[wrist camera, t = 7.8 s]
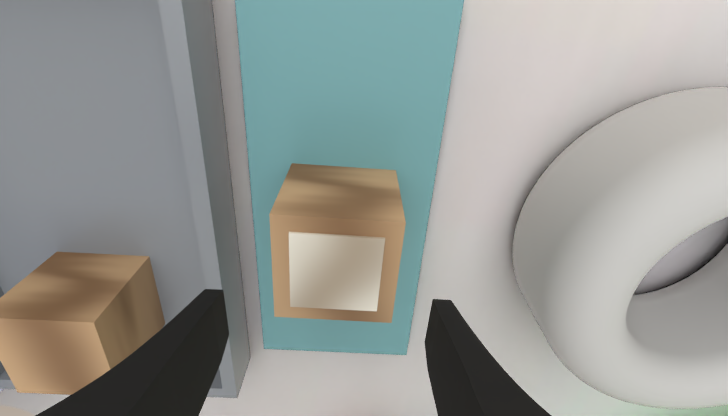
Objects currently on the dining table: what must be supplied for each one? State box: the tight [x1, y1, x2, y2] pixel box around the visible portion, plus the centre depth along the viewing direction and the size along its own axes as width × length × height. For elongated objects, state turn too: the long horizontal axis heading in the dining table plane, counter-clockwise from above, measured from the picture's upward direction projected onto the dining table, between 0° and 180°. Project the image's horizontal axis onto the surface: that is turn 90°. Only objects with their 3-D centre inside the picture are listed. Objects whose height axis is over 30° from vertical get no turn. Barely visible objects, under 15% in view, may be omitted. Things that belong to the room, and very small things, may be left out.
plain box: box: [0, 252, 165, 395], centre depth 20 cm, size 5×5×5 cm
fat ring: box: [512, 87, 728, 409], centre depth 18 cm, size 15×15×7 cm
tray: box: [0, 0, 250, 398], centre depth 19 cm, size 15×24×3 cm, turn 176°
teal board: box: [235, 0, 464, 355], centre depth 20 cm, size 9×20×1 cm, turn 176°
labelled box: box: [269, 163, 406, 323], centre depth 18 cm, size 5×5×5 cm
